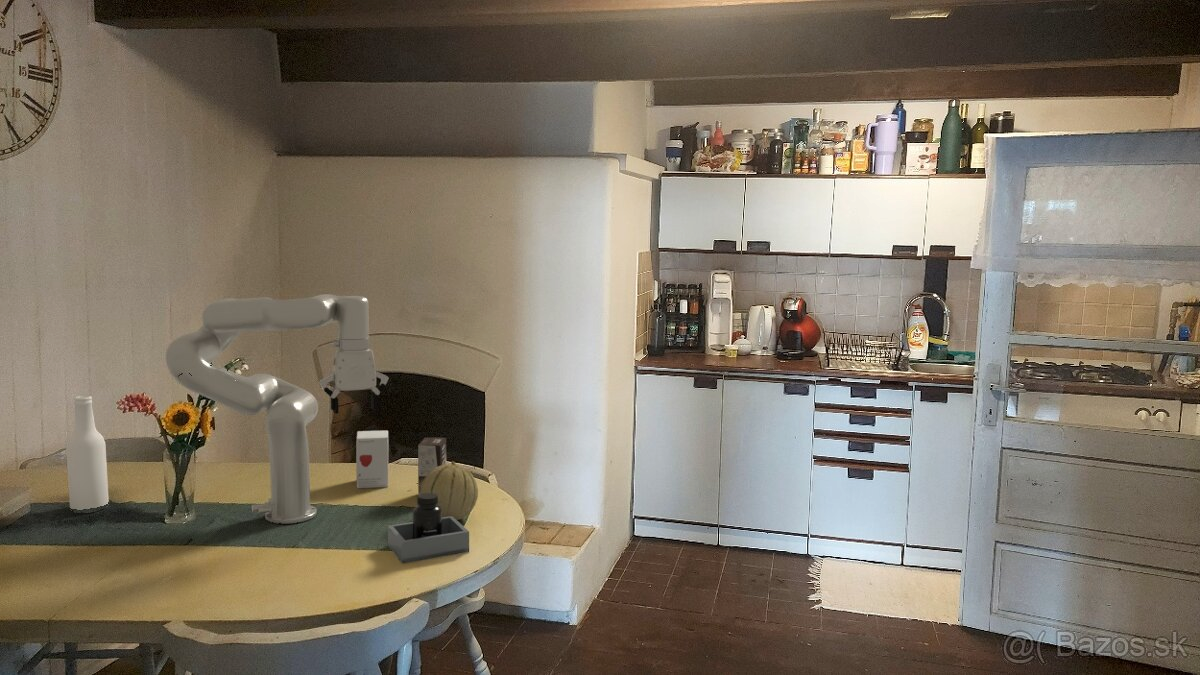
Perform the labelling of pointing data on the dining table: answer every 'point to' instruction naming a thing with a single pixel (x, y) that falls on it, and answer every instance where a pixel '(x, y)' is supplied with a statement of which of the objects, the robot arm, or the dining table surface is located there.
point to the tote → (428, 541)
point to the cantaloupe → (452, 489)
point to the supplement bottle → (427, 516)
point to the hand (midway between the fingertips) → (354, 410)
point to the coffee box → (430, 457)
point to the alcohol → (86, 460)
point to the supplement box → (372, 459)
